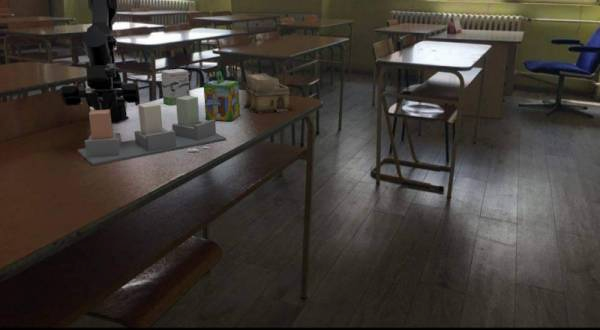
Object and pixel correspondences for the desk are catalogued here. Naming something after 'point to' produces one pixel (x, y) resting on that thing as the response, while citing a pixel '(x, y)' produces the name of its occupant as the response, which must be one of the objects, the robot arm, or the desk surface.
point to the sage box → (187, 110)
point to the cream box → (150, 118)
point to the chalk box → (221, 99)
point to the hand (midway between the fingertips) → (101, 122)
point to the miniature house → (266, 94)
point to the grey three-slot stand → (149, 143)
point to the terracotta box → (101, 124)
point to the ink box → (174, 85)
